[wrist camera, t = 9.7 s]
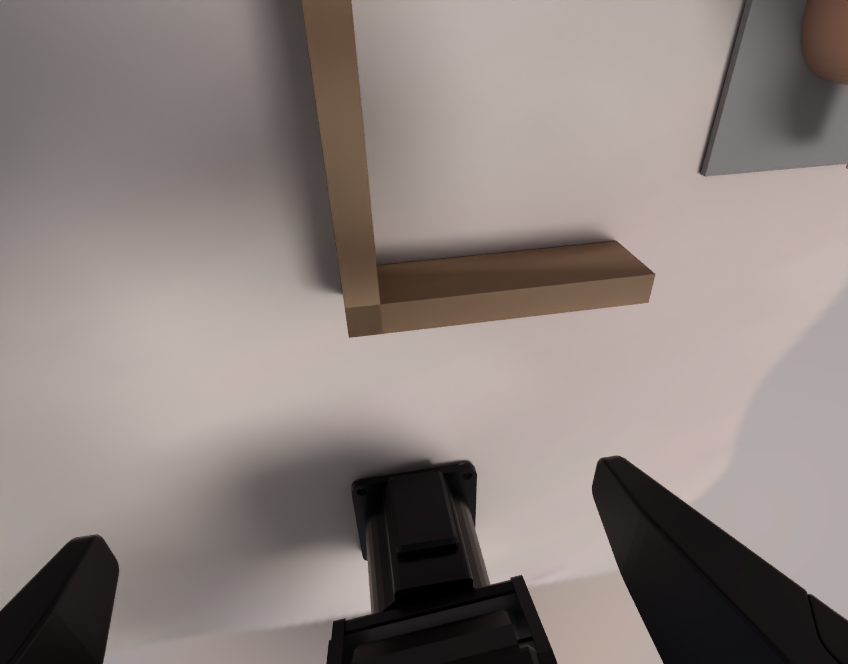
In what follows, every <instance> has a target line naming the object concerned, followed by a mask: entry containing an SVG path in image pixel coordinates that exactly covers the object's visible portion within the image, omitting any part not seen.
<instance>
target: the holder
mask: <svg viewBox="0 0 848 664" xmlns="http://www.w3.org/2000/svg"><path fill="white" fill-rule="evenodd" d="M302 7H303V14H304V22H305V29H306V36H307V43H308V50H309V57H310V64H311V71H312V78H313V85H314V93H315V100H316V107H317V114H318V121H319V128H320V135H321V142H322V149H323V156H324V164H325V171H326V178H327V185H328V192H329V199H330V206H331V213H332V220H333V227H334V235H335V242H336V249H337V256H338V263H339V270H340V277H341V284H342V291H343V298H344V306H345V313H346V320H347V327H348V334H349V338H350V337H359V336H368V335H376V334H385V333H393V332H402V331H410V330H419V329H427V328H436V327H444V326H453V325H462V324H470V323H479V322H487V321H496V320H504V319H513V318H521V317H530V316H538V315H547V314H556V313H564V312H573V311H581V310H590V309H598V308H607V307H615V306H624V305H632V304H641V303H648V302H649V298H650V294H651V290H652V286H653V281H654V277H655V273H653V272H652V271H651V270H650V269H649V268H648V267H646V266H645V265H644V264H643V263H642V262H641V261H639V260H638V259H637V258H636V257H635V256H634V255H632V254H631V253H630V252H629V251H628V250H627V249H625V248H624V247H623V246H622V245H621V244H620V243H618V242H617V241H612V242H602V243H593V244H583V245H573V246H563V247H553V248H544V249H534V250H524V251H514V252H504V253H495V254H485V255H475V256H465V257H455V258H446V259H436V260H426V261H416V262H406V263H397V264H387V265H376V255H375V244H374V234H373V223H372V213H371V202H370V192H369V181H368V171H367V160H366V150H365V140H364V129H363V119H362V108H361V98H360V87H359V77H358V66H357V56H356V45H355V35H354V25H353V14H352V4H351V0H302Z"/></svg>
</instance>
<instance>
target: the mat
mask: <svg viewBox="0 0 848 664" xmlns="http://www.w3.org/2000/svg"><path fill="white" fill-rule="evenodd" d="M807 1H808V0H746V4H745V8H744V11H743V15H742V19H741V23H740V26H739V30H738V34H737V38H736V42H735V45H734V49H733V53H732V57H731V61H730V64H729V68H728V72H727V76H726V79H725V83H724V87H723V91H722V95H721V98H720V102H719V106H718V110H717V114H716V117H715V121H714V125H713V129H712V133H711V136H710V140H709V144H708V148H707V151H706V155H705V159H704V163H703V167H702V170H701V175H703V176H715V175H726V174H737V173H748V172H760V171H771V170H782V169H793V168H805V167H816V166H827V165H838V164H848V85H844V84H838V83H833V82H828V81H825V80H823V79H821V78H819V77H818V76H816V75H815V74H814V73H813V72H812V71H811V70H810V68H809V67H808V65H807V64H806V61H805V59H804V56H803V52H802V47H801V26H802V20H803V15H804V11H805V7H806V4H807Z"/></svg>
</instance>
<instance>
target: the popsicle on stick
mask: <svg viewBox="0 0 848 664" xmlns="http://www.w3.org/2000/svg"><path fill="white" fill-rule="evenodd" d="M801 47H802V52H803V56H804V59H805V61H806V64H807V65H808V67H809V68H810V70H811V71H812V72H813V73H814V74H815V75H816V76H818V77H819V78H821V79H823V80H825V81H828V82H833V83H838V84H844V85H848V0H808V1H807V4H806V7H805V11H804V15H803V20H802V26H801ZM846 168H847V169H848V164H847V166H846Z"/></svg>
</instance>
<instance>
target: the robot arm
mask: <svg viewBox="0 0 848 664" xmlns="http://www.w3.org/2000/svg"><path fill="white" fill-rule="evenodd" d="M465 473H466V474H465ZM476 487H477V473H476V470H475V467H474V466H473V465H472V464H460V465H454V466H447V467H440V468H433V469H427V470H420V471H413V472H406V473H400V474H393V475H386V476H379V477H373V478H366V479H360V480H356V481H355V482H353V484H352V498H353V503H354V509H355V515H356V521H357V527H358V532H359V538H360V544H361V550H362V556H363V559H364V560H366V561H368V573H369V587H370V600H371V614H370V615H365V616H361V617H357V618H353V619H349V620H346V618H344V619H340V620H336V621H333V628H332V638H331V640H329V645H328V654H327V664H557V661H556V658H555V656H554V654H553V650H552V648H551V646H550V643H549V641H548V638H547V636H546V633H545V631H544V628H543V626H542V623H541V621H540V618H539V616H538V613H537V611H536V608H535V606H534V604H533V601H532V598H531V596H530V594H529V591H528V589H527V586H526V584H525V581H524V579H523V576H522V575H519V576H515V577H511V578H510V579H511V580H508V581H504V582H500V583H496V584H492V585H490V581H489V578H488V574H487V570H486V567H485V563H484V560H483V556H482V552H481V549H480V545H479V542H478V538H477V534H476V531H475V517H476ZM592 494H593V498H594V501H595V504H596V507H597V509H598V512H599V515H600V518H601V521H602V523H603V526H604V529H605V532H606V534H607V537H608V540H609V543H610V546H611V548H612V551H613V554H614V557H615V560H616V562H617V565H618V567H619V570H620V573H621V575H622V577H623V580H624V582H625V584H626V586H627V588H628V590H629V593H630V595H631V596H632V599H633V601H634V603H635V605H636V607H637V609H638V611H639V613H640V615H641V617H642V620H643V621H644V624H645V626H646V628H647V630H648V632H649V634H650V636H651V638H652V640H653V642H654V644H655V647H656V648H657V650H658V653H659V655H660V657H661V659H662V661H663V663H664V664H848V620H847V619H845V618H844V617H842V616H841V615H840V614H838V613H837V612H835V611H834V610H832V609H831V608H829V607H828V606H827V605H826V604H824V603H823V602H821V601H820V600H819V599H817V598H816V597H815V596H813V595H812V594H807V592H806V590H805V589H803V588H802V587H800V586H799V585H798V584H797V583H795V582H794V581H792V580H791V579H789V578H788V577H787V576H785V575H784V574H783V573H781V572H780V571H779V570H777V569H776V568H775V567H773V566H772V565H770V564H769V563H767V562H766V561H765V560H764V559H762V558H761V557H759V556H758V555H757V554H755V553H754V552H752V551H751V550H750V549H748V548H747V547H746V546H744V545H743V544H742V543H740V542H739V541H737V540H736V539H735V538H733V537H732V536H730V535H729V534H728V533H726V532H725V531H724V530H722V529H721V528H720V527H718V526H717V525H715V524H714V523H713V522H711V521H710V520H709V519H707V518H706V517H705V516H703V515H702V514H700V513H699V512H698V511H696V510H695V509H693V508H692V507H691V506H689V505H688V504H687V503H685V502H684V501H683V500H681V499H680V498H678V497H677V496H676V495H674V494H673V493H672V492H670V491H669V490H667V489H666V488H665V487H663V486H662V485H661V484H659V483H658V482H656V481H655V480H654V479H652V478H651V477H650V476H648V475H647V474H645V473H644V472H643V471H641V470H640V469H639V468H637V467H636V466H634V465H633V464H632V463H630V462H629V461H628V460H626V459H625V458H623V457H621V456H611V457H604V458H600V459H599V461H598V462H597V466H596V471H595V475H594V479H593V484H592ZM118 576H119V565H118V562H117V559H116V558H115V556H114V555H113V553H112V551H111V550H110V548H109V547H108V545H107V544H106V542H105V540H104V539H103V538H102V537H101V536H99V535H89V536H82V537H77V538H74V539H72V540H70V541H69V542H68V543H67V544H66V545H65V546H64V547H63V548H62V549H61V550H60V551H59V552H58V553H57V554H56V555H55V556H54V557H53V558H52V559H51V560H50V561H49V562H48V563H47V564H46V565H45V566H44V567H43V568H42V569H41V570H40V571H39V572H38V573H37V574H36V575H35V576H34V577H33V578H32V579H31V580H30V581H29V582H28V583H27V584H26V585H25V586H24V587H23V588H22V589H21V590H20V591H19V592H18V593H17V594H16V595H15V596H14V597H13V599H12V600H11V601H10V602H9V603H8V604H7V605H6V606H5V607H4V608H3V609H2V610H1V611H0V664H103V661H104V656H105V651H106V645H107V639H108V633H109V628H110V622H111V616H112V611H113V605H114V599H115V593H116V588H117V582H118Z"/></svg>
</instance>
